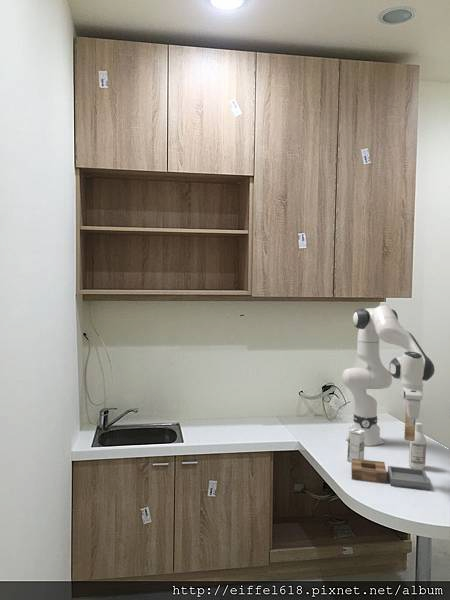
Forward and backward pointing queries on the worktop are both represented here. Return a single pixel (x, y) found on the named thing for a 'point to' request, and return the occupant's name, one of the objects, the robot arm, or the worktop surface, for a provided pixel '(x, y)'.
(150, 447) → the worktop surface
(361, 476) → the holder
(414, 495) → the worktop surface
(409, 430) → the dowel
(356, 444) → the syrup box
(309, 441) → the worktop surface
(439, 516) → the worktop surface
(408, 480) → the tray
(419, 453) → the bath foam
